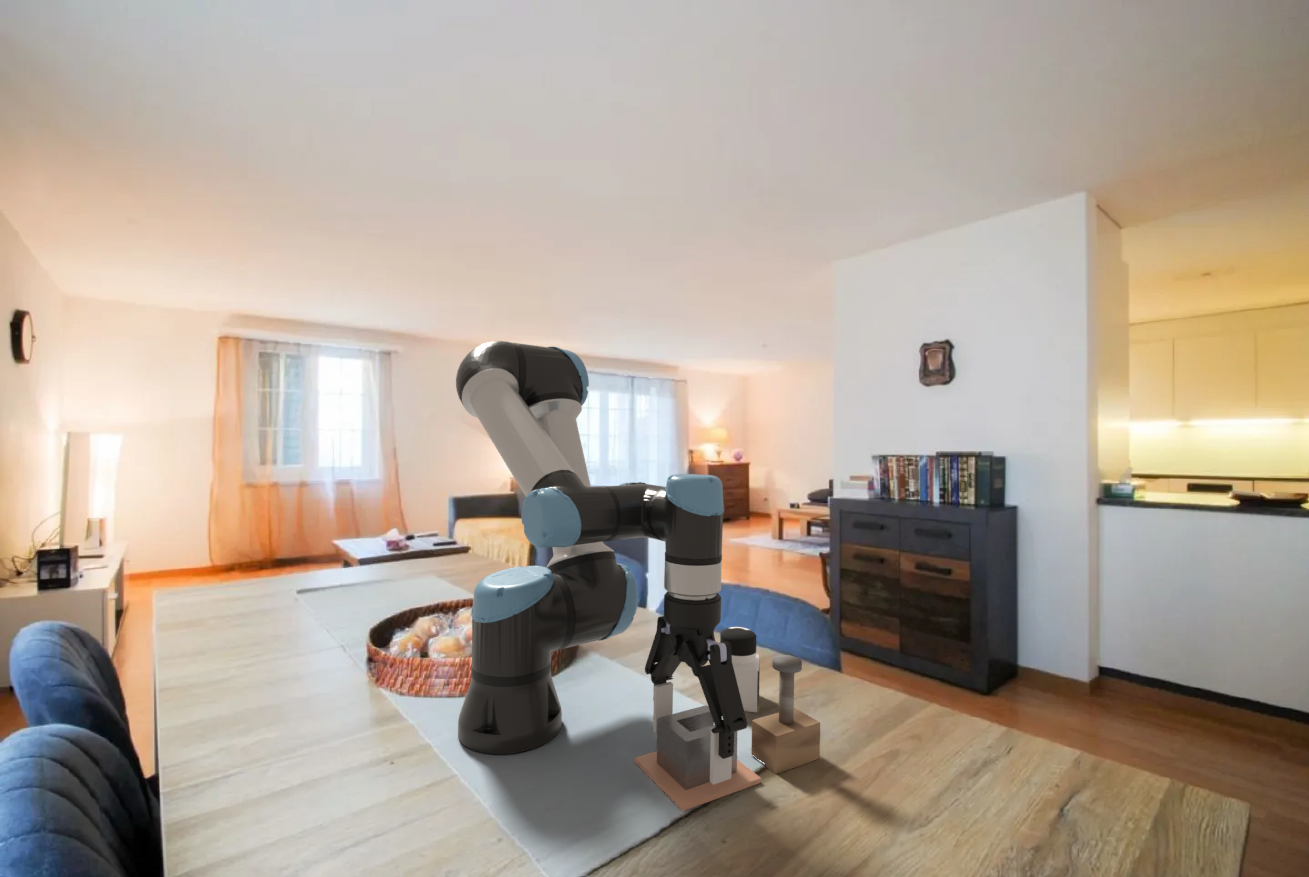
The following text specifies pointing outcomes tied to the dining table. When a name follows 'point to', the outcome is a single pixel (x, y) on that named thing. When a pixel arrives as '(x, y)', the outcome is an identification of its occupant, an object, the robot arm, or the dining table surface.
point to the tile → (699, 793)
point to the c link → (688, 746)
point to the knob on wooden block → (786, 726)
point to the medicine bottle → (744, 664)
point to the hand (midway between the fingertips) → (689, 753)
